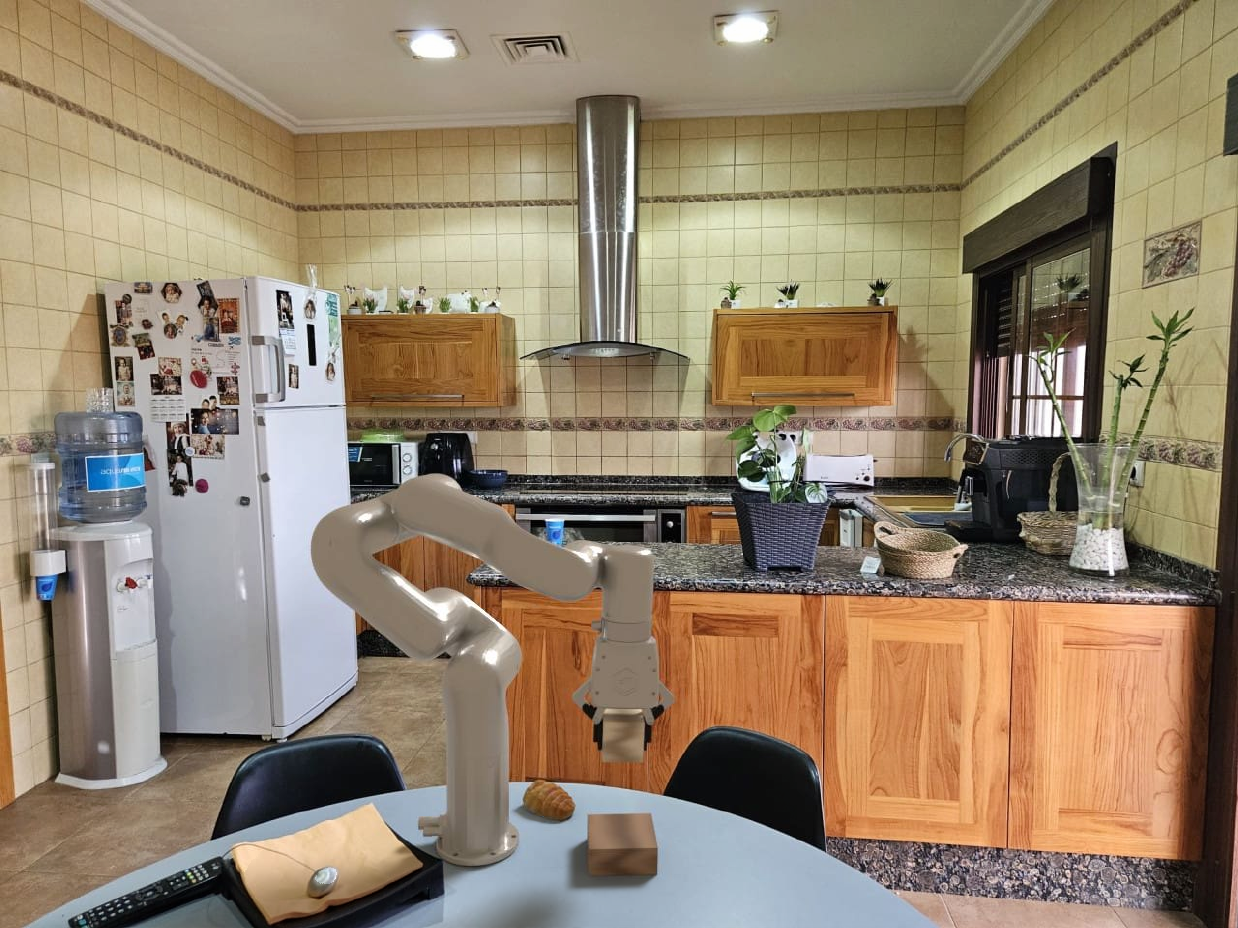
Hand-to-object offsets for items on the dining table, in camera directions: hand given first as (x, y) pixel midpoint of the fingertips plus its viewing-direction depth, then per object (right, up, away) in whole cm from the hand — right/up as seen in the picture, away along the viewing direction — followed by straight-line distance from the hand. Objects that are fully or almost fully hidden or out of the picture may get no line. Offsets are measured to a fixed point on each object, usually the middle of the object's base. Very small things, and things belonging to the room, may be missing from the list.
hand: (621, 745), depth 119 cm
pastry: (-12, -16, +16) cm, 26 cm away
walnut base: (0, -17, +1) cm, 17 cm away
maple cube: (0, -1, 0) cm, 1 cm away
